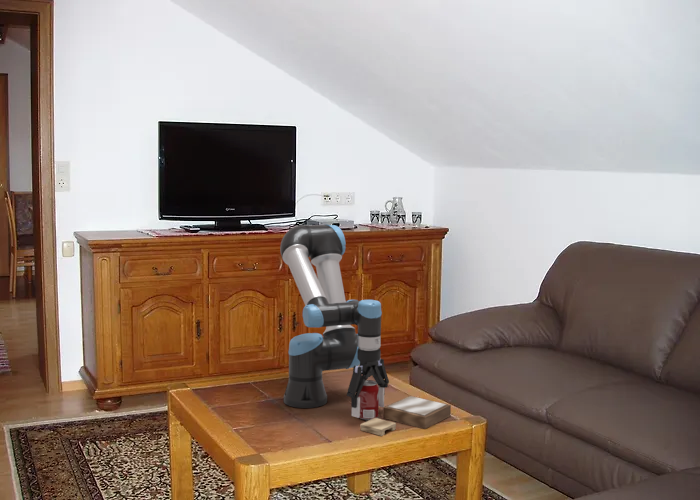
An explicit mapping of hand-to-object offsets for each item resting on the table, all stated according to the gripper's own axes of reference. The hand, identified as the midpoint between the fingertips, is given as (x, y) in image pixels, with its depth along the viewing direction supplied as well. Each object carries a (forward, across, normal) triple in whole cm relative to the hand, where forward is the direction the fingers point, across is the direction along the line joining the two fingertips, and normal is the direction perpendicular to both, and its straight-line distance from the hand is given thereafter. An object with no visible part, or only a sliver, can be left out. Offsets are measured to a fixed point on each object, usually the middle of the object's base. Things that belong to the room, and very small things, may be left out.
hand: (368, 411), depth 251 cm
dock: (+2, +11, -12) cm, 16 cm away
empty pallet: (+2, -7, -9) cm, 12 cm away
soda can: (+2, 0, 0) cm, 2 cm away
